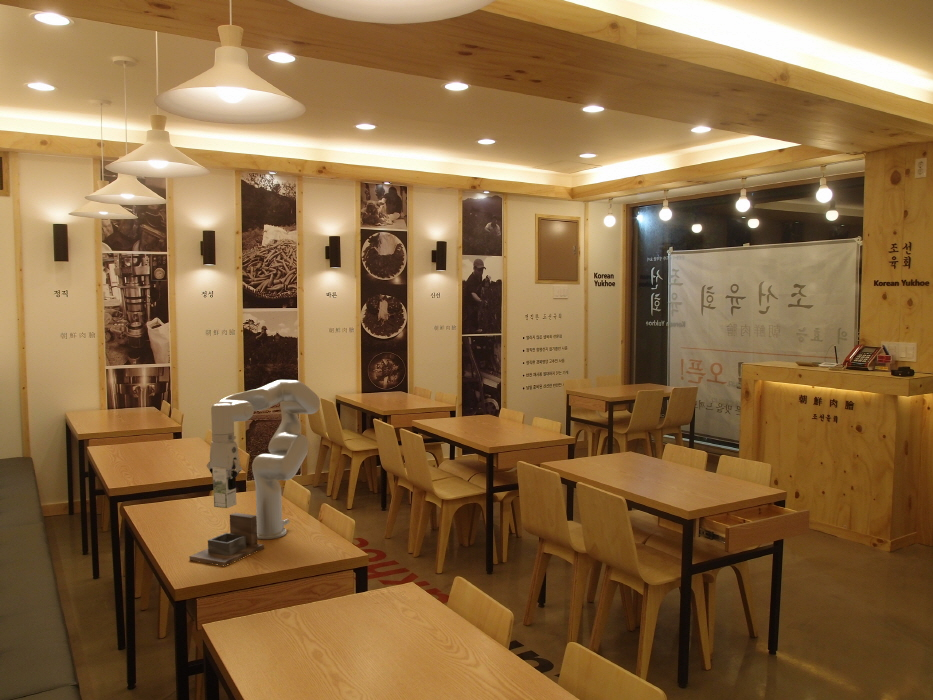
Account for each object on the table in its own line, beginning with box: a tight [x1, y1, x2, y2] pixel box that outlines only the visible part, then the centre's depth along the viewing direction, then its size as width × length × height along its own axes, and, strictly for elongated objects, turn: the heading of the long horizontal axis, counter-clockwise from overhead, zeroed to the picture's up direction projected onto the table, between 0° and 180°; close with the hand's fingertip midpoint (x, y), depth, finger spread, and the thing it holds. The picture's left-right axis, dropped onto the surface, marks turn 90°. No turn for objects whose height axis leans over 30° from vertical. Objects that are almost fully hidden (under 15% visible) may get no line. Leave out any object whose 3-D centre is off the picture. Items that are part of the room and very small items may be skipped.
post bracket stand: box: [188, 512, 265, 567], centre depth 262 cm, size 20×16×12 cm
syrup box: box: [212, 466, 238, 509], centre depth 260 cm, size 6×6×14 cm
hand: (224, 487), depth 261 cm, fingers closed on syrup box, 6 cm apart
